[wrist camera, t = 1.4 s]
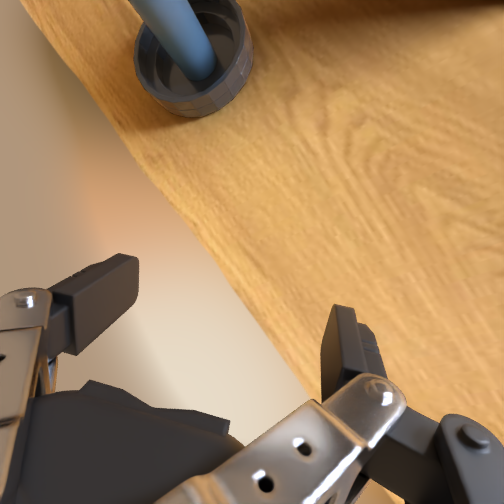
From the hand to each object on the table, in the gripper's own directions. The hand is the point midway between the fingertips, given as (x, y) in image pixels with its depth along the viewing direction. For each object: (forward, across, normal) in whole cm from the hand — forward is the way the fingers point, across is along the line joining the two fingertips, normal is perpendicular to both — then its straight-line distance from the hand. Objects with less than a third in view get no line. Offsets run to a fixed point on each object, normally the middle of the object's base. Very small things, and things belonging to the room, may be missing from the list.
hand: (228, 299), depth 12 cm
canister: (+32, +14, -13) cm, 38 cm away
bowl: (+33, +14, -13) cm, 38 cm away
